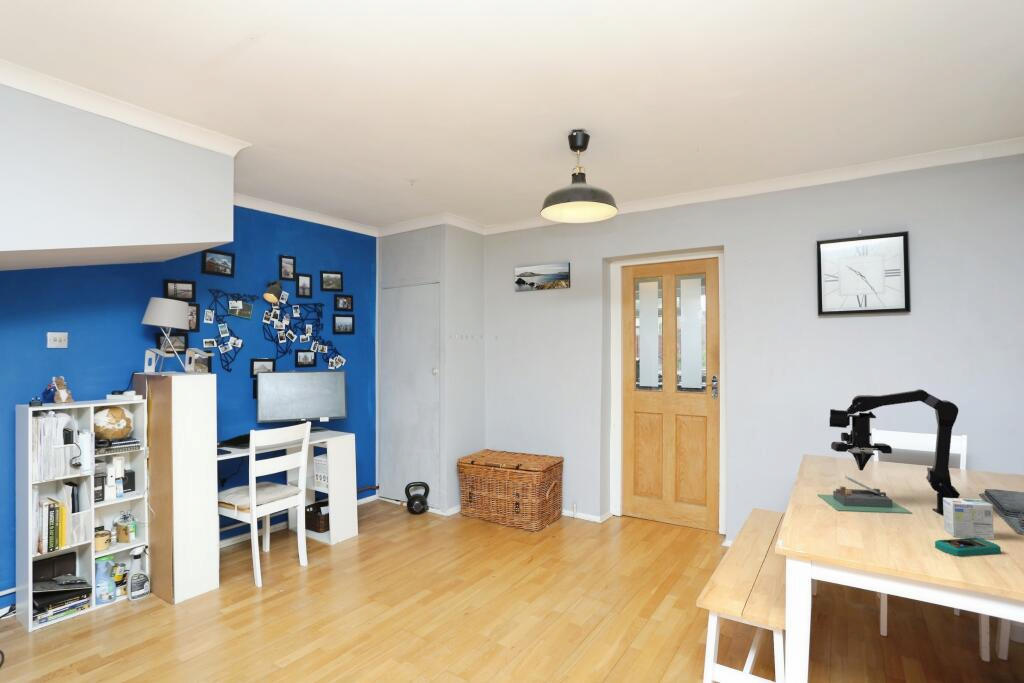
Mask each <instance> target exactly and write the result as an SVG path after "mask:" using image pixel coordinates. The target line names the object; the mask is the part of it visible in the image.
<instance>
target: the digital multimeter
mask: <svg viewBox="0 0 1024 683" xmlns="http://www.w3.org/2000/svg"><path fill="white" fill-rule="evenodd" d="M934 548H936V549H938V550H939V551H941V552H943V553H946V554H948V553H949V554H948V555H952V556H955V557H957V556H961V557H967V556H969V557H970V555H971V556H983V555H996V554H999V553H1000V554H1002V553H1001V552H1002V551H1001V546H1000V545H999V544H997V543H994V542H991V541H989V540H988V539H981V538H977V537H974V538H964V537H962V538H955V539H954V538H952V539H951V538H950V539H936V540H935V541H934Z"/></svg>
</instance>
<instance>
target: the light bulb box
mask: <svg viewBox="0 0 1024 683" xmlns="http://www.w3.org/2000/svg"><path fill="white" fill-rule="evenodd" d="M993 506H994V505H993V504H992V503H989V502H987V501H985V500H983V499H980V498H961V497H959V498H943V511H944V515H943V530H944V531H945V532H946V533H947V534H949V535H951V536H952V537H953V538H974V537H977V538H981V539H984V540H995V539H994V538H995V537H994V536H995V534H994V531H995V530H994V509H993V508H994V507H993Z"/></svg>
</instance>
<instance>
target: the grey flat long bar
mask: <svg viewBox="0 0 1024 683" xmlns="http://www.w3.org/2000/svg"><path fill="white" fill-rule="evenodd" d="M844 479H847V480H848V481H850V482H852V483H854V484H857V485H858V486H860V487H862V488H864V489H865V490H870V491H872V492H874V493H876V494H878V495H879V492H877V491H875V490H873V489H874V488H872V487H869V486H867V485H865V484H863V483H861V482H859V481H857V480H855V479H853V478H851V477H849V476H847V475H845V476H844Z"/></svg>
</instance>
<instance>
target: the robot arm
mask: <svg viewBox="0 0 1024 683" xmlns="http://www.w3.org/2000/svg"><path fill="white" fill-rule="evenodd" d="M915 402H922V403H923V404H925V405H927V406H928V407H931V408H932V409H933V410H934V413H935V419H936V424H937V429H936V438H935V439H936V441H935V450H934V451H935V452H934V462H933V465H932V467H928V466H927V468H926V469H927V470H926V472H927V475H926V477H925V478H926V480H927V482H928V484H929V485H930V487H931V488H932V490H933V491H935V492H936V508H932V511H934V512H936V513H937V514H939V515H941V516H944V511H943V498H960V496H961V494H960V493H959V491H958V490H957V489H956V487H955V486H953V485H952V479H951V473H950V467H949V463H950V454H951V442H952V433H953V432H952V430H953V427H954V424H955V423H956V421H957V417H958V414H959V407H958V405H956V404H955V403H954V402H951V401H950V400H947V399H946V400H941V399H940V398H937V397H936V396H935V395H932V394H930V393H928V392H927V391H926V390H925V389H922V388H921V389H920V388H918V389H915V390H910V391H902V392H895V393H889V394H883V395H873V394H872V395H869V394H868V395H865V394H863V395H861V394H859V395H856V396H854V397H853V399H852V400H851V404H850V406H849V407H847V408H846V410H844V409H843V410H842V409H835V408H831V409H830V411H829V428H842V429H847V427H849V426H851V430H850V434H849V433H848V432H841V433H840V439H841V441H832V442H831V444H830V445H831V446H830V447H831V448H830V449H831V450H833V451H835V452H839V453H842V452H843V453H846V452H847V453H850V454H852V456H853V458H854V460H855V463H856V465H857V468H858V471H864V469H865V467H866V465H867V464H868V462H869V460H870V459H871V457H873V456H875V453H874V451H877V452H878V451H880V452H881V453H882V454H888V455H889V454H890V455H891V454H893V448H892V446H891V445H889V444H887V443H881V442H874V444H871V437H872V433H871V419H877V416H876V414H874V413H873V412H872V411H871V410H874V409H878V408H880V407H884V406H885V407H886V406H892V405H899V404H900V405H901V404H908V403H915ZM845 442H846V443H845Z"/></svg>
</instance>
